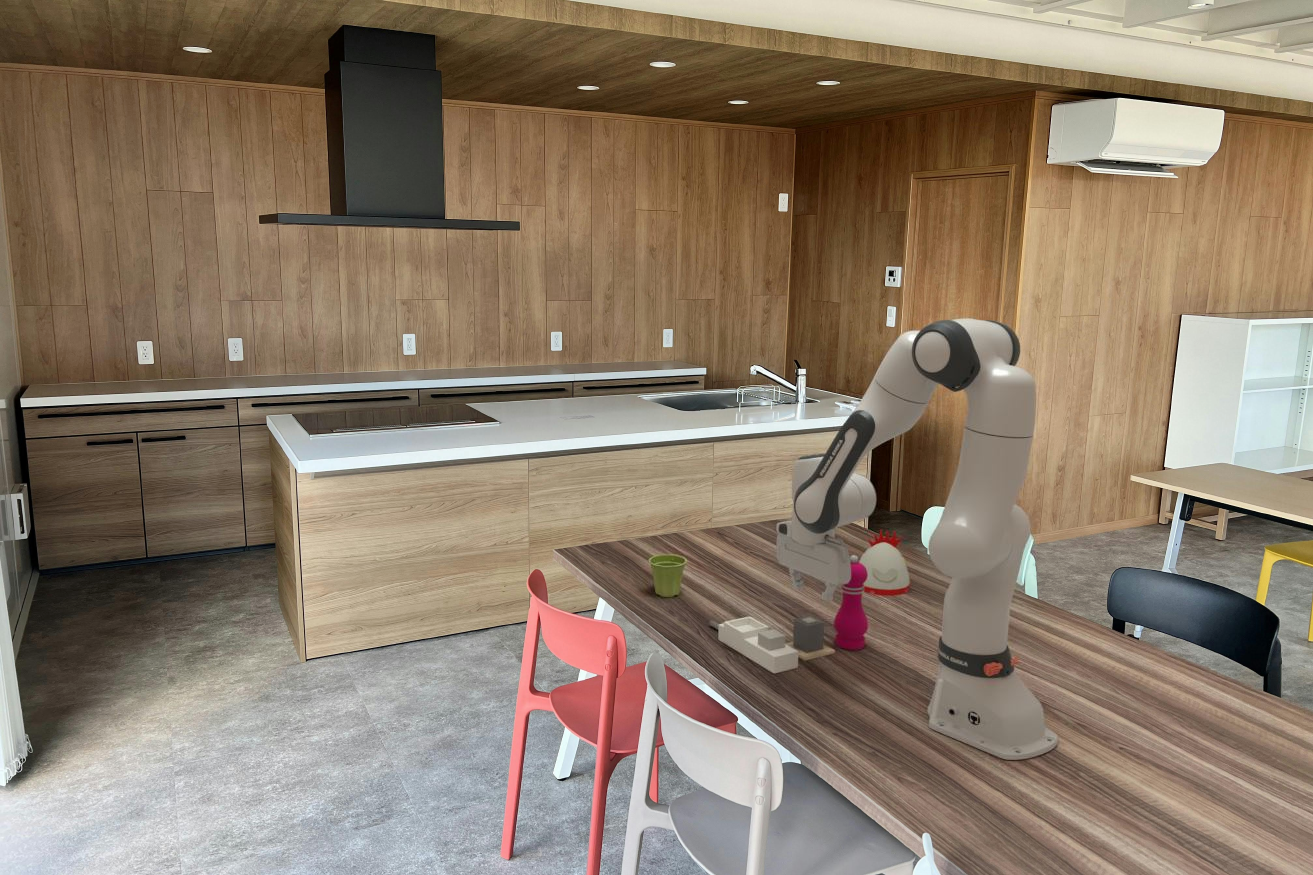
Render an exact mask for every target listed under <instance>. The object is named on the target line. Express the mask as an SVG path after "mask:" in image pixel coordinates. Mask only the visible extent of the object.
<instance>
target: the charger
mask: <svg viewBox="0 0 1313 875" xmlns="http://www.w3.org/2000/svg"><path fill="white" fill-rule="evenodd" d="M824 635H825V622H824V621H823V620H820V619H819V618H816V617H814V616H813V615H807V616H806V615H805V616H802V617H798V618H794V619H793V638H792V642H793V646H794V647H796V648H798V649H800V650H802V651H803V652H805V653H810V652H814V651H818V650H822V649H823V644H824V639H825V638H824V637H825V636H824ZM824 645H825V644H824Z"/></svg>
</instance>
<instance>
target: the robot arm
mask: <svg viewBox="0 0 1313 875" xmlns="http://www.w3.org/2000/svg"><path fill="white" fill-rule="evenodd" d="M1020 356H1021V343H1020V340H1019V337H1018V335H1017V333H1016V332H1015V331H1014V330H1013V329H1012V328H1010V327H1009V325H1006V324H1004V323H1002V322H1000V321H996V320H991V319H986V320H982V319H975V318H968V317H967V318H966V317H965V318H955V319H941V320H936V321H934V322H932V323H930V324H928V325H926V326H924V327H923V328H921V329H920V330H908V331H906V332H903V333H902V334H900V335H899V336H898V338H897V339H896V340H895V341H894V343H893V344H892V346H891V347H890V348H889V350H888V351H887V353H886V354H885V356H884V358H883V360H882V361H881V363H880V364H879V366H878V369H877V370H876V373H875V374H874V377H873V378H872V380H871V383H870V384H869V386H868V388H867V390H866V391H865V393H864V394H863V396H862V398H861V400H860V401H859V403H858V404H857V406H856V407H855V408H854V410H853V411H852V412H851V414H850V415H849V416H848V417H847V419H846V420H845V421H844V423H843V424H842V425H841V427H840V429H839V430H838V432H837V434H836V435H835V437H834V438H833V440H832V442H831V444H830V445H829V447H828V448H827V450H826V452H825V453H814V454H809V455H808V454H807V455H804V456H800V457H798V458H797V459H796V460H795V462H794V465H793V468H792V476H791V498H792V501H793V503H792V504H793V506H792V510H791V511H792V512H791V519H790V520H787V521H781V522H777V523H776V525H775V526H776V533H778V534H777V537H776V544H775V545H776V559H777V561H778V563H779V565H782V566H785V567H787V568H788V572H789V575H790V578H791V580H792V588H793V589H794V590H797V591H799V590H804V588H805V587H804V585H805V584H804V583H805V581H804V580H802V577H801V573H803V574H806V575H808V576H811V577H813V578H815V579H819V580H820V581H821V580H822V581H823V582H824V586H825V587H826V589H825V591H822V592H821V600H822V601H824V602H827V603H830V602H832V601H833V600H834V592H836V589H837V587H838V586H841V585H843V584H847V583H849V581H850V580H851V566H850V557H851V556H850V554H849V549H848V546H847V545H846V543H845V542H844V540H843V539H842V538H837V537H835V532H836V531H835V530H836V529H835V528H839V527H842V526H846V525H849V524H853V523H856V522H859V521H862V520H864V519H867V518H869V517H870V516H871V515H872V514H873V513H874V511H875V510H876V506H877V501H878V500H877V499H878V498H877V492H876V488H875V486H874V484H873V483H872V482H871V480H870V479H869V478H868V477H866V476H865V475H862V474H858V473H855V471H856V469H857V467H858V465H859V464H860V463H861V461H862V460H863V459H864V457H865V456H866V455H867V454H869V453H870V452H871V451H872V450H874V449H875V448H876V447H878V446H880V445H882V444H883V443H885V442H887V441H891V440H892V439H893V438H895V437H898V436H900V435H903V434H904V433H907V432H908V431H910V430H911V429H912V428H913V427H915V425H916V423H918V421H919V420H920V419H921V417H922V416H923V414H924V413H925V411H926V409H927V408H928V405H929V404H930V401H931V399H932V397H933V395H934V393H935V392H936V390H937V388H938V386H939V385H941V386H943V387H945V388H946V389H947V390H950V391H951V392H956V393H957V392H960V391H962V390H963V392H964V394H965V396H966V399H967V411H966V417H965V422H964V423H965V424H964V428H963V433H962V434H963V435H962V442H961V447H960V453H959V459H958V465H957V470H956V474H955V476H954V480H953V483H952V485H951V488H950V491H949V494H948V496H947V500H946V502H945V505H944V508H943V511H942V514H941V517H940V519H939V522H938V523H937V525H936V526H935V529H934V530H933V532H932V533H931V535H930V538H929V541H928V553H929V558H930V560H931V561H932V563H933V565H934V567H936V569H938V571H939V572H941V573H942V574H944V575H945V576H948V577H949V578H952V579H951V581H950V583H949V586H948V588H947V590H946V592H945V594H944V598H943V610H942V612H943V613H942V625H941V626H942V627H941V635H940V637H939V640H938V646H937V660H939V662H938V663H939V664H938V669H937V677H936V681H935V684H934V689H933V693H932V696H931V699H930V701H929V704H928V707H927V710H926V712H927V715H928V717H929V720H928V728H930V729H931V730H934V731H936V732H938V733H940V734H943V735H945V736H948V737H950V738H953V739H955V740H957V741H959V742H962V743H964V744H966V745H968V746H971V747H974V748H976V749H979V750H981V751H983V752H986V753H988V754H991V755H993V756H995V757H997V758H1000V759H1003V760H1006V761H1007V760H1008V761H1009V760H1010V761H1011V760H1015V761H1016V760H1017V761H1019V760H1026V759H1031V758H1034V757H1038V756H1040V755H1043V754H1045V753H1048V752H1050V751H1052V750H1053V749H1055V748H1056V747H1057V745H1058V743H1059V735H1058V734H1057V733H1056V732H1054V731H1052V730H1051V729H1049V728H1048V727H1047V726H1045V714H1044V708H1043V706H1042V703H1041V702H1040V700H1039V699H1038V698H1036V696H1035V695H1034V693H1033V692H1032V691H1031V690H1030V689H1029V688H1028V686H1027V685H1026V684H1025V683H1024V682H1023V680H1022V679H1021V677H1020V676H1018V674H1017V673H1016V672H1015V666H1014V665H1018V664H1020V661H1019V660H1020V659H1021V658H1020V657H1019V656H1018V657H1014V658H1012V653H1011V651H1010V647H1009V645H1008V636H1009V635H1008V634H1009V624H1010V612H1011V606H1012V605H1011V604H1012V599H1013V596H1014V591H1015V587H1016V584H1017V580H1018V576H1019V573H1020V568H1021V564H1022V560H1023V556H1024V553H1025V552H1024V551H1025V548H1026V546H1027V543H1028V542H1029V540H1030V536H1031V532H1032V527H1031V525H1032V524H1031V522H1030V519H1029V517H1028V515H1027V513H1026V512H1025V511H1024V510H1023V509H1022V508H1021V507H1020V506H1019V505H1017V504H1015V503H1016V501H1017V498H1018V496H1019V493H1020V492H1021V490H1022V487H1023V486H1024V484H1025V481H1026V478H1027V474H1028V467H1029V462H1030V456H1031V450H1032V446H1033V438H1034V431H1035V424H1036V416H1037V415H1036V414H1037V411H1036V410H1037V391H1036V390H1037V389H1036V381H1035V379H1034V377H1033V376H1032V375H1031V374H1030V373H1029V372H1028V371H1027V370H1024V369H1023V368H1021V367H1018V366H1016V365H1017V363H1018V361H1019V360H1020Z"/></svg>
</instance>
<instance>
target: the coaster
mask: <svg viewBox="0 0 1313 875" xmlns="http://www.w3.org/2000/svg"><path fill="white" fill-rule="evenodd" d="M785 644H786V645H788V646H790V647H792V648H793V649H795V650H797V651H798V658H800V659H801V660H803V661H809V660H812V659H813V660H814V659H818V658H820V657H824V656H828V655H833V654H835V653H836V650H835V649H833V648H831V647H830V646H828V645H826V644H823V649H822V650H818V651H814V652H810V653H805V652H803V651H802V650H800V649H798V648H796V647H794V646H793V641H790V642H785Z"/></svg>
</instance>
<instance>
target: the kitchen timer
mask: <svg viewBox="0 0 1313 875" xmlns="http://www.w3.org/2000/svg"><path fill="white" fill-rule="evenodd" d="M879 531H880V532H879V535H878V536H879V537H878V536H877V535H876V533H874V534H873V536H874V542H872V541H871V539H870V537H868V543H869V547H868V548H867V549H866V551H864V553H863V554H862V555H861V557H860V559H859V560H858V562H859V563H861V564H863V565H864V566H865V568H866V569H867V574H868V576H867V580H866V581H865V582H864V583H863V584H864V586H865V587H864V592H863V593H866V594H870V595H875V596H882V597H883V596H884V597H886V596H889V597H891V596H892V597H893V596H900V595H904V594H906V593H908V592H909V591H910V586H911V580H910V575H909V571H908V566H907V562H908V560H906V558H904V556H903V555H902V553H901V552H900V550H899V549H898V548H897V547H898V545H899V543H900V541H901V539H902V535H900V536H899V537H898V538H897V539H896V536H897V535H896V531H893V533H892V536H891V538H890V534H889V531H888V529H887V530H886V532H885V536H884V534H883V529H880V530H879Z"/></svg>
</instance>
